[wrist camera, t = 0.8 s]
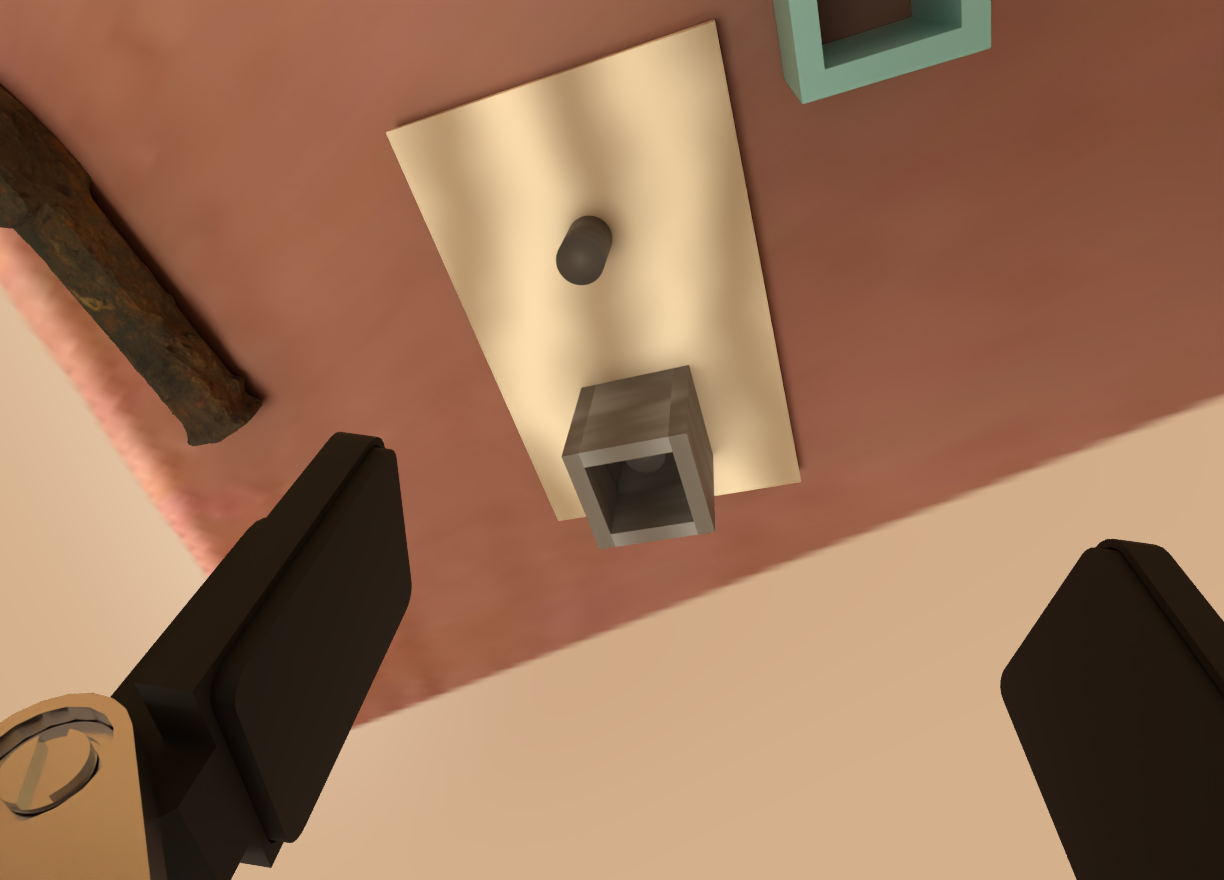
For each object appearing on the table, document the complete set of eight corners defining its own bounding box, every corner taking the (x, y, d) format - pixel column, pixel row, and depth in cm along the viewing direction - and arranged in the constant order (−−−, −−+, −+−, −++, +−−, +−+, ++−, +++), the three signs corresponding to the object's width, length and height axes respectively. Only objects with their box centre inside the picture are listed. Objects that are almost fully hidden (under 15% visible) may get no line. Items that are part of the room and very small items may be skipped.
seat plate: (714, 18, 26) (718, 33, 20) (798, 468, 37) (816, 561, 32) (396, 127, 30) (320, 166, 24) (561, 507, 41) (538, 598, 35)
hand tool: (278, 401, 39) (233, 448, 35) (224, 417, 40) (174, 463, 36) (27, 42, 30) (-72, 51, 26) (-35, 75, 31) (-140, 89, 27)
